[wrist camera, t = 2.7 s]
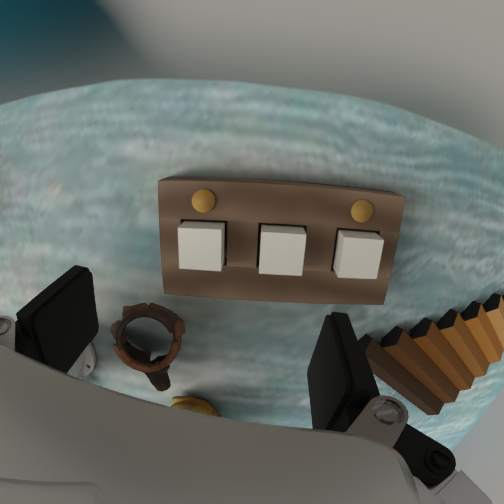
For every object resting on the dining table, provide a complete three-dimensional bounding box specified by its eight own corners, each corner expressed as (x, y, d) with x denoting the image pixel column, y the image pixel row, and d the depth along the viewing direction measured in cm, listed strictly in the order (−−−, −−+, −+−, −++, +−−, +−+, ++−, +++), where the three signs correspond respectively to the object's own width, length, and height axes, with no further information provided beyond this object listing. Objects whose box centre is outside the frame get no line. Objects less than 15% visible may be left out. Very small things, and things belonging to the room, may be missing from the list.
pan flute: (347, 346, 37) (424, 407, 42) (353, 362, 34) (430, 420, 39) (479, 214, 30) (523, 314, 35) (494, 221, 27) (533, 323, 32)
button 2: (224, 261, 30) (220, 271, 28) (185, 258, 30) (179, 268, 28) (225, 222, 29) (221, 229, 27) (184, 220, 29) (177, 227, 27)
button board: (375, 292, 34) (383, 305, 31) (171, 281, 34) (163, 294, 31) (393, 191, 29) (405, 197, 26) (167, 177, 30) (157, 180, 27)
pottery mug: (106, 310, 37) (93, 320, 29) (167, 286, 40) (169, 290, 32) (142, 386, 38) (140, 411, 30) (201, 363, 40) (211, 383, 33)
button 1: (368, 268, 30) (376, 279, 28) (332, 267, 30) (338, 277, 28) (375, 232, 28) (384, 240, 26) (338, 229, 29) (344, 237, 26)
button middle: (299, 265, 30) (301, 275, 28) (259, 263, 30) (258, 273, 28) (303, 226, 29) (306, 234, 26) (261, 224, 29) (261, 231, 26)
